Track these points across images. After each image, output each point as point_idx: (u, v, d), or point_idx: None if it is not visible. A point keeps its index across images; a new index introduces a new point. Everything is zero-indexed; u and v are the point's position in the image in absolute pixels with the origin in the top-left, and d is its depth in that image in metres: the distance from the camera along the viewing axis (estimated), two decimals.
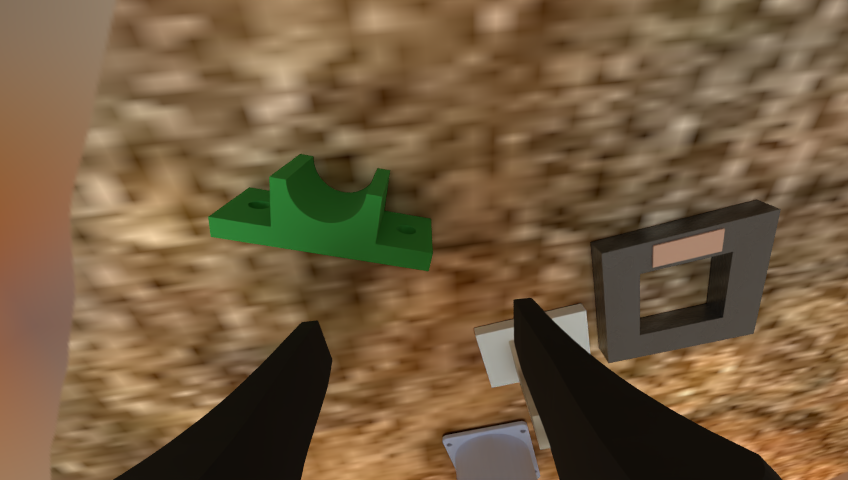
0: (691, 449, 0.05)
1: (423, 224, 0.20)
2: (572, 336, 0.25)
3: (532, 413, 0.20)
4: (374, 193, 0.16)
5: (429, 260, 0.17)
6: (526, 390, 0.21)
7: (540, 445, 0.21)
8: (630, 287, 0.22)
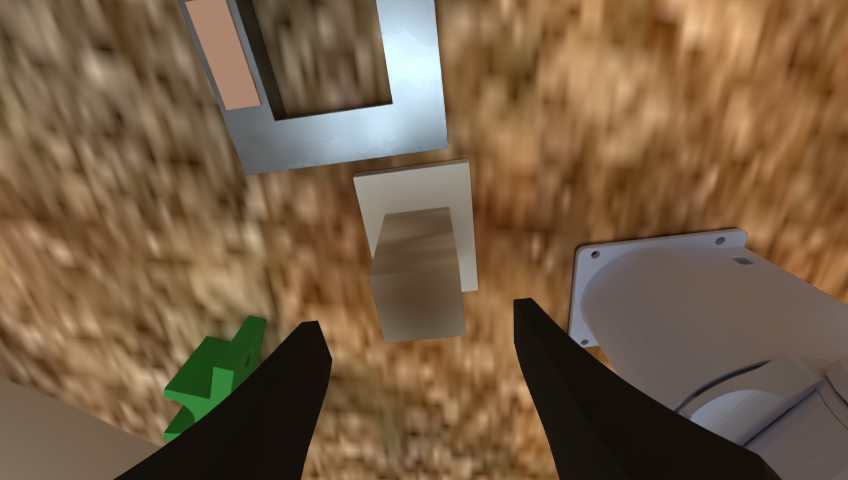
0: (691, 449, 0.05)
1: None
2: (399, 193, 0.17)
3: (385, 339, 0.14)
4: (166, 390, 0.20)
5: (222, 369, 0.19)
6: None
7: (455, 334, 0.14)
8: (298, 131, 0.15)
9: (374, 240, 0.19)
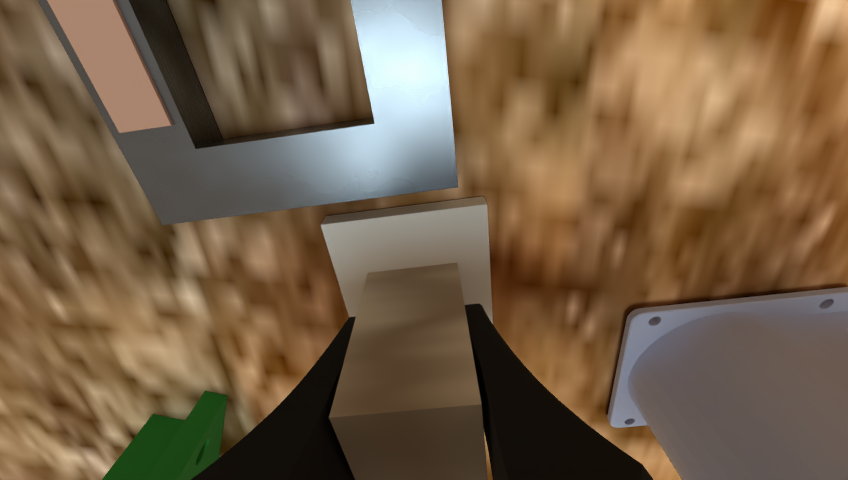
0: (579, 458, 0.06)
1: None
2: (387, 245, 0.12)
3: None
4: None
5: None
6: None
7: None
8: (232, 163, 0.10)
9: (354, 305, 0.14)
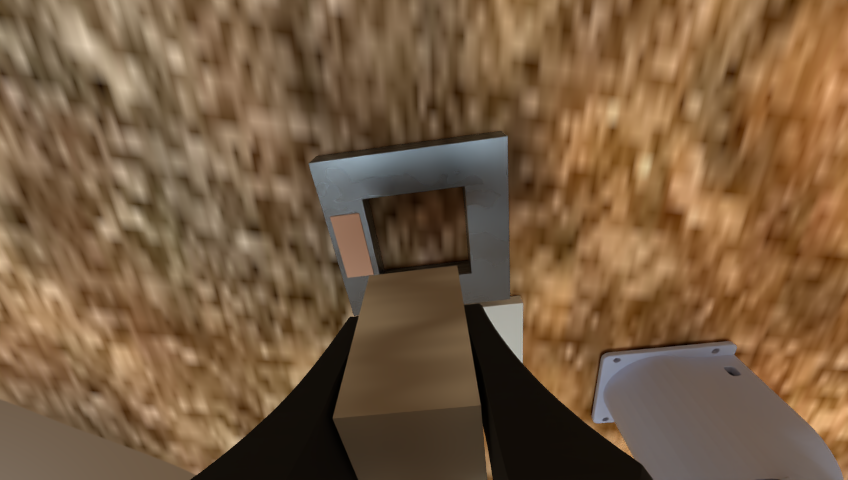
0: (579, 458, 0.06)
1: None
2: None
3: None
4: None
5: None
6: None
7: None
8: None
9: None
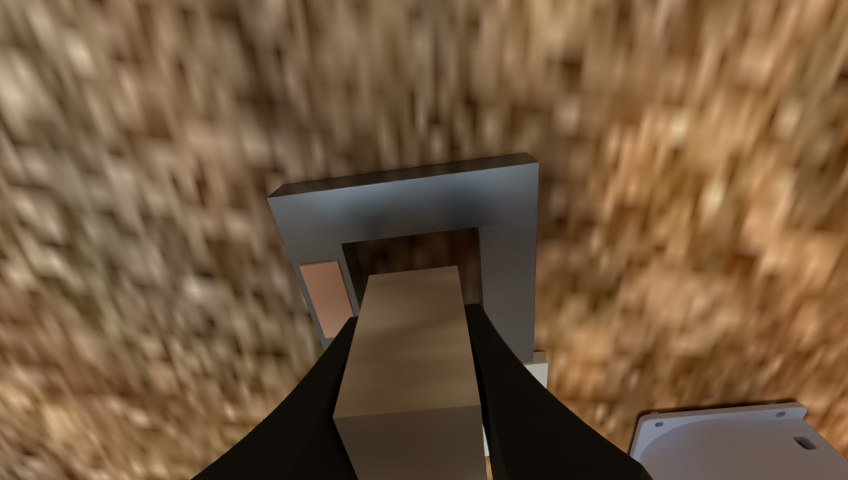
0: (579, 458, 0.06)
1: None
2: None
3: None
4: None
5: None
6: None
7: None
8: None
9: None
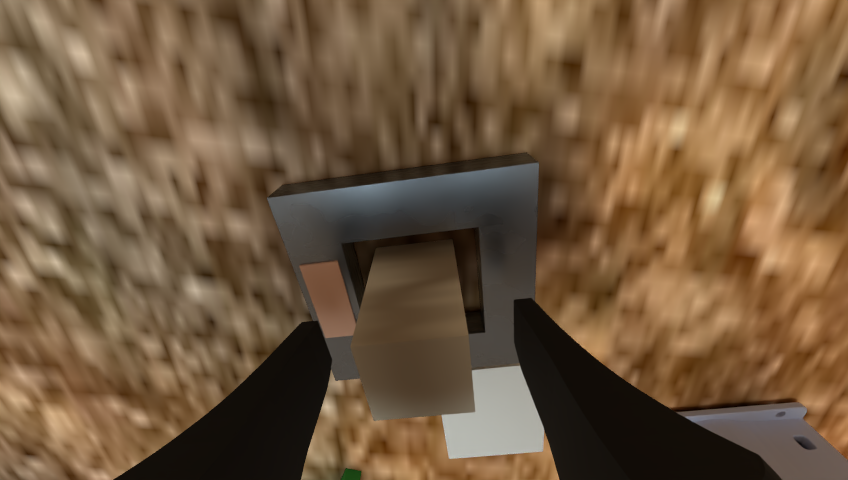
0: (691, 449, 0.05)
1: None
2: (477, 384, 0.18)
3: (374, 415, 0.12)
4: None
5: None
6: None
7: (462, 411, 0.11)
8: None
9: (448, 417, 0.19)
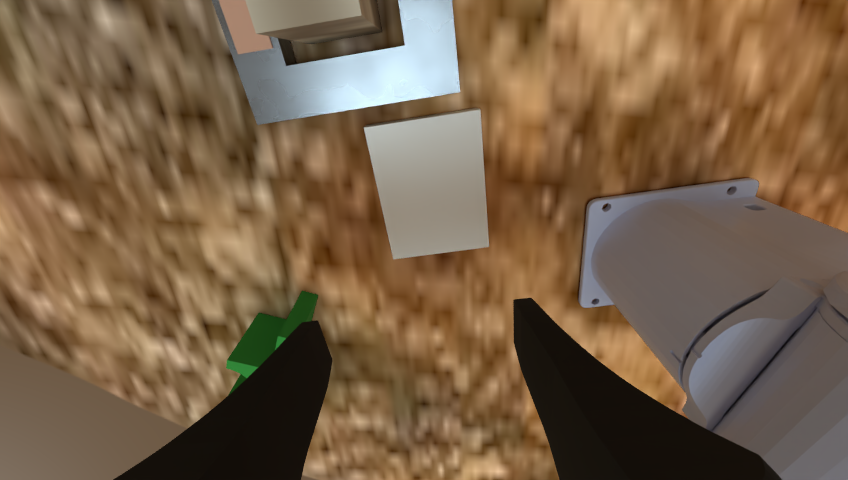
0: (690, 449, 0.05)
1: None
2: (410, 143, 0.17)
3: (257, 32, 0.11)
4: (228, 361, 0.20)
5: (285, 338, 0.19)
6: None
7: (347, 14, 0.10)
8: (309, 76, 0.15)
9: (385, 195, 0.19)
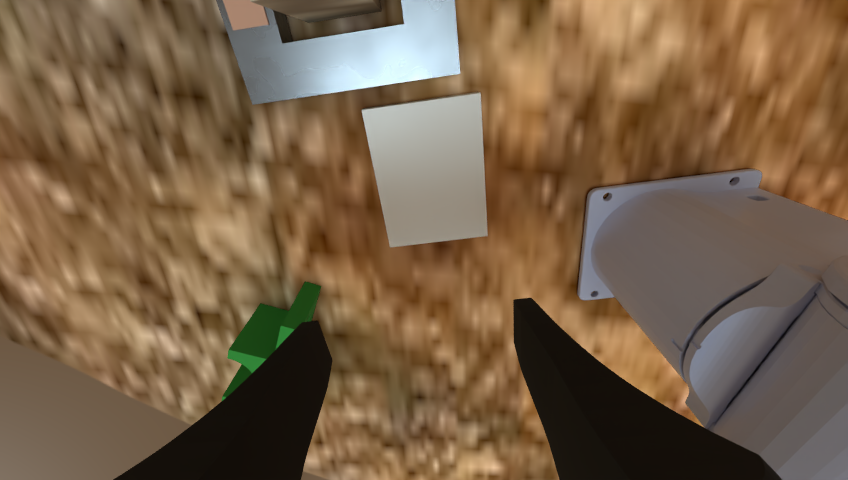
0: (691, 449, 0.05)
1: None
2: (408, 127, 0.17)
3: (251, 0, 0.10)
4: (229, 351, 0.20)
5: (288, 328, 0.19)
6: None
7: None
8: (306, 55, 0.15)
9: (382, 180, 0.18)
